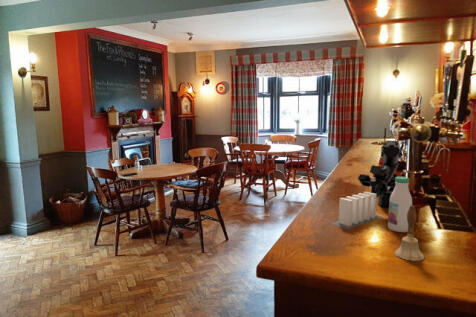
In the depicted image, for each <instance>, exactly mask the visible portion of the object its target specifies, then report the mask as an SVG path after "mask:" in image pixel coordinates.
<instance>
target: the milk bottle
mask: <svg viewBox="0 0 476 317" xmlns="http://www.w3.org/2000/svg"><path fill="white" fill-rule="evenodd" d="M395 183H396V186H395V188H394V190H393V192H392V194H391V196H390V203H389V208H388V220H387V227H388V229H389V230H391V231H394V232H397V233H398V232H399V233H407V232H408V222H407V213H408V210H409V208H410V206H411V205H412V206H413V199H412V195H411V193H410V190H409V184H410V178H409V177H407V176H397V177H396V178H395Z"/></svg>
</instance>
